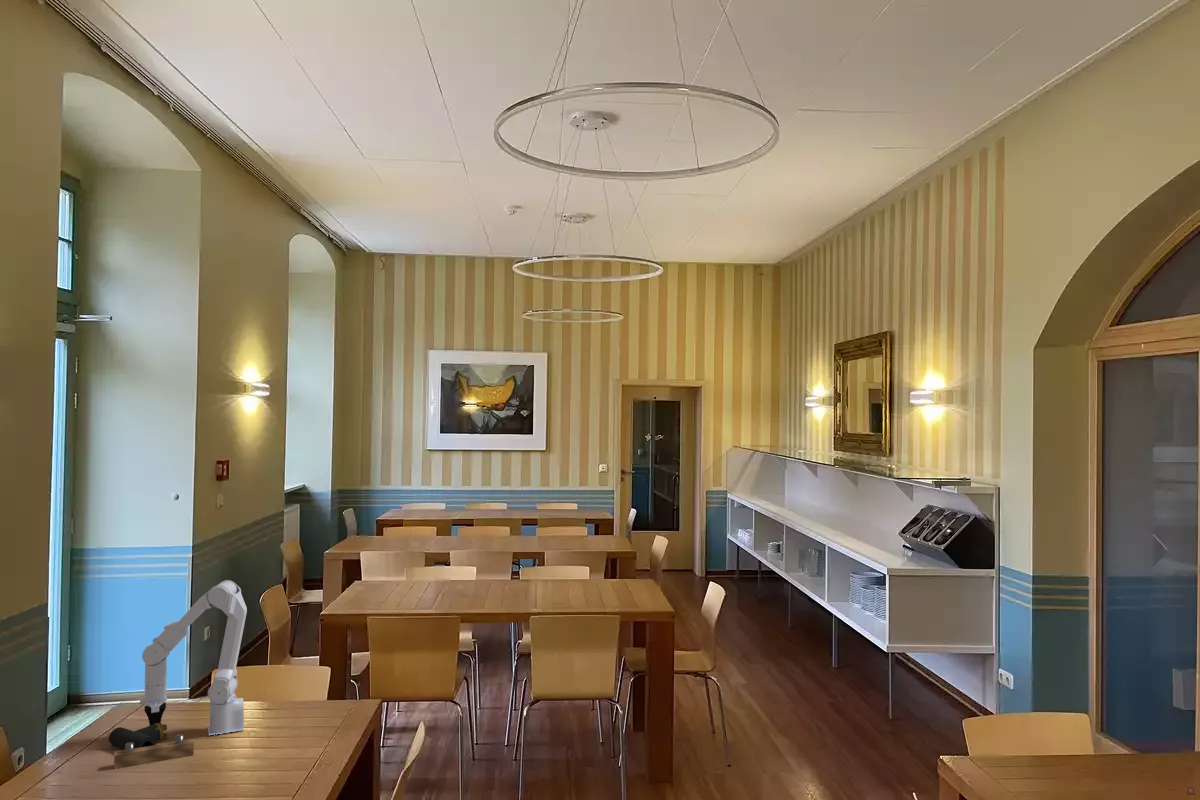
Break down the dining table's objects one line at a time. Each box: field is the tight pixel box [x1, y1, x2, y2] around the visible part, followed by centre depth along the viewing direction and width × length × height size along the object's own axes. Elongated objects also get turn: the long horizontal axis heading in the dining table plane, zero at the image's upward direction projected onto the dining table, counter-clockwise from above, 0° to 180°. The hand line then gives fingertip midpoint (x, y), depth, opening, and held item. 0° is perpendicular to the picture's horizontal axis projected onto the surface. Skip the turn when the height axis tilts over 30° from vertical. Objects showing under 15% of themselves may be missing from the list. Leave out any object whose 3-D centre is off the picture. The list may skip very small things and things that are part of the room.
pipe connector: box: [108, 722, 168, 750], centre depth 234 cm, size 12×5×15 cm
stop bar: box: [113, 733, 195, 769], centre depth 224 cm, size 19×3×6 cm, turn 119°
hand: (154, 730), depth 242 cm, fingers closed
